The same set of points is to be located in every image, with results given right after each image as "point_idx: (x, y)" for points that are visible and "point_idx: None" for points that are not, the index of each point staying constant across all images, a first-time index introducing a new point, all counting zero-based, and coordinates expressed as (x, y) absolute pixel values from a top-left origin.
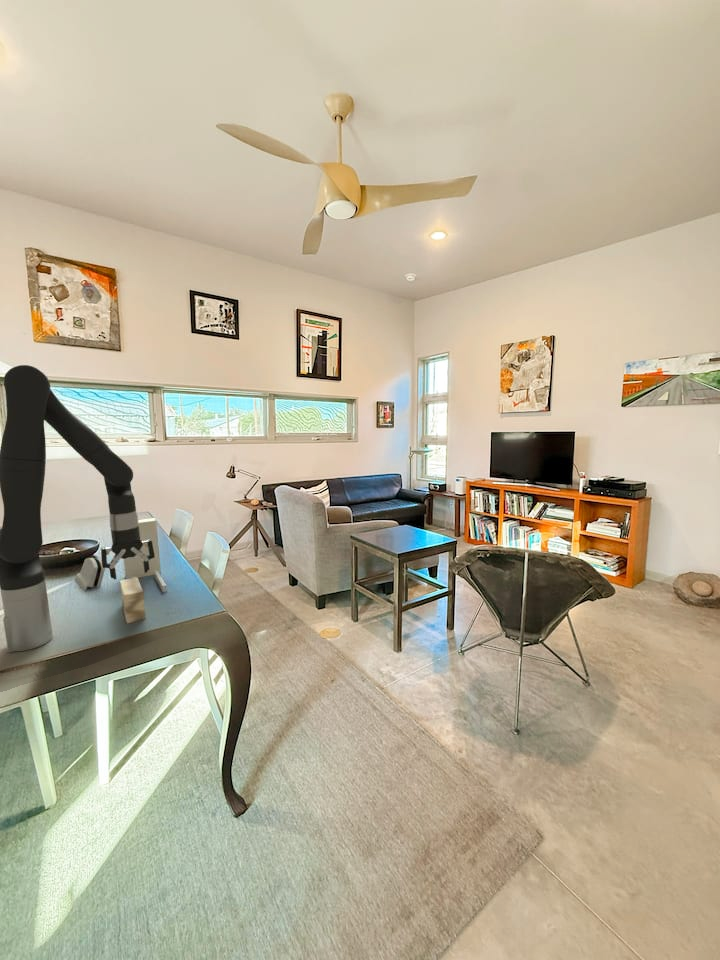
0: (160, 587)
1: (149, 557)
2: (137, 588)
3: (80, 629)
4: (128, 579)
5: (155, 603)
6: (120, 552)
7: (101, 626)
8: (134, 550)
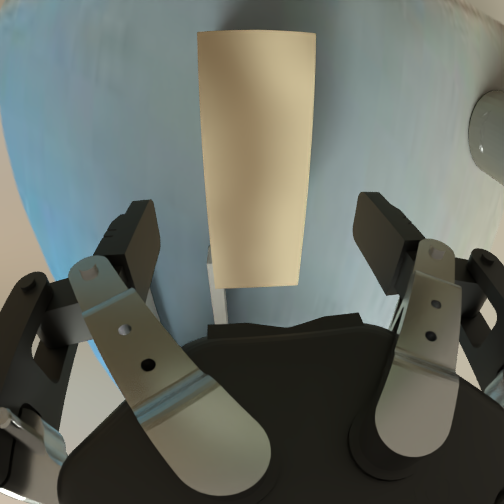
0: (150, 291)
1: (62, 293)
2: (225, 102)
3: (416, 113)
4: (258, 279)
5: (164, 167)
6: (452, 381)
7: (365, 83)
8: (189, 411)
